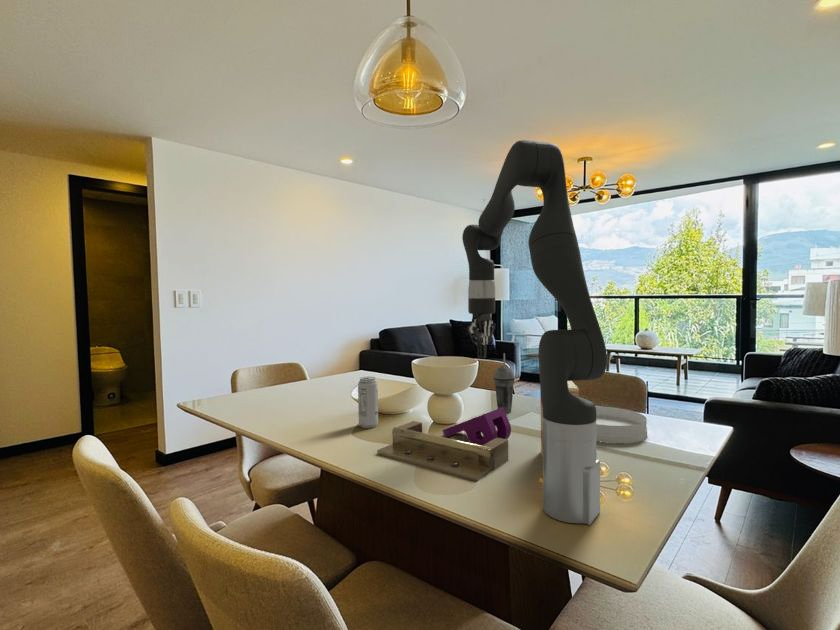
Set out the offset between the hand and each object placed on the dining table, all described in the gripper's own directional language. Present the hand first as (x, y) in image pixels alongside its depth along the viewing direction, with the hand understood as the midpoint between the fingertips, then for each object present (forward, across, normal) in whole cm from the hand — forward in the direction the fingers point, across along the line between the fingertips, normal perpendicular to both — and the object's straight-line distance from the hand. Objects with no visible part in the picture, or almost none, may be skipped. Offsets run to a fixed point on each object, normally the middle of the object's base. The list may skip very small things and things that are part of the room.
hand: (481, 357), depth 125 cm
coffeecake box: (+22, -9, -25) cm, 35 cm away
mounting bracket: (+23, -6, 0) cm, 23 cm away
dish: (+23, +23, -28) cm, 43 cm away
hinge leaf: (+22, -21, 0) cm, 30 cm away
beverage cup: (+23, +27, +6) cm, 36 cm away
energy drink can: (+23, -11, +34) cm, 42 cm away
